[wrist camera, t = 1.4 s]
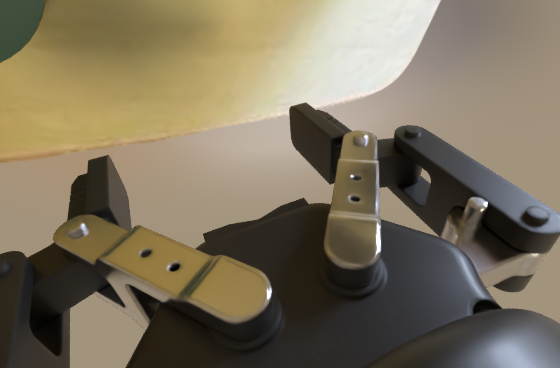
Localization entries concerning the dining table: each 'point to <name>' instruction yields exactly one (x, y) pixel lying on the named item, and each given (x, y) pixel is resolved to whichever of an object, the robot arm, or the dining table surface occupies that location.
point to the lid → (18, 24)
